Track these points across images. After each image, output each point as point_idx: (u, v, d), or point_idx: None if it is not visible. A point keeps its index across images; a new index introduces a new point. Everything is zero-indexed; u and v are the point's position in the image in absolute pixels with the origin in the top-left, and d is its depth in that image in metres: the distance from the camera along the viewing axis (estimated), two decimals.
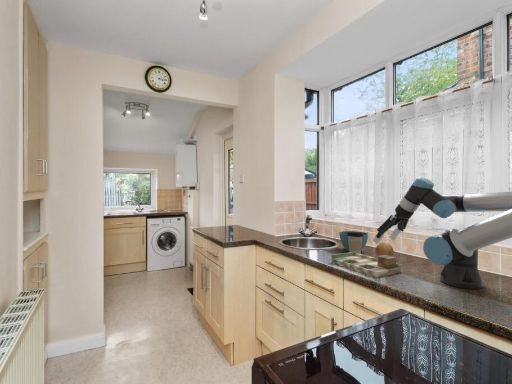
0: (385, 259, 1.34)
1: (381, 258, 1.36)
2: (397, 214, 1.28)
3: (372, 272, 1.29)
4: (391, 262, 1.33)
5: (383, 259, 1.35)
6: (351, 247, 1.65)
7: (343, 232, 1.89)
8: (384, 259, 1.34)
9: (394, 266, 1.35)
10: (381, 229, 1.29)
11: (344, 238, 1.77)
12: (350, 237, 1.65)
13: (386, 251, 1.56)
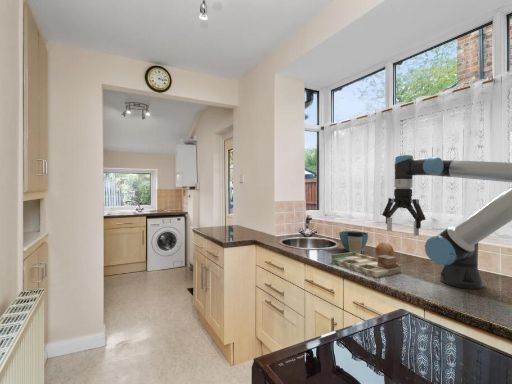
0: (385, 259, 1.34)
1: (381, 258, 1.36)
2: (410, 196, 1.26)
3: (372, 272, 1.29)
4: (391, 262, 1.33)
5: (383, 259, 1.35)
6: (351, 247, 1.65)
7: (343, 232, 1.89)
8: (384, 259, 1.34)
9: (394, 266, 1.35)
10: (423, 216, 1.21)
11: (344, 238, 1.77)
12: (350, 237, 1.65)
13: (386, 251, 1.56)
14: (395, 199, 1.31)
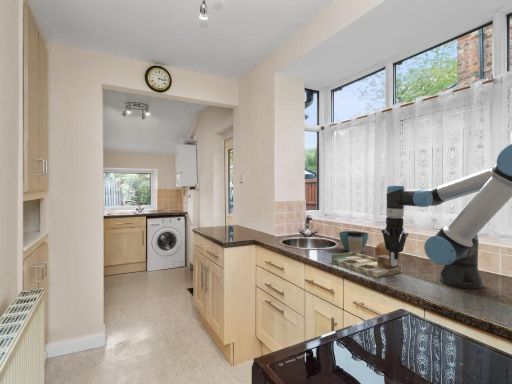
0: (385, 259, 1.34)
1: (381, 258, 1.36)
2: None
3: (372, 272, 1.29)
4: None
5: (383, 259, 1.35)
6: (351, 247, 1.65)
7: (343, 232, 1.89)
8: (384, 259, 1.34)
9: (394, 266, 1.35)
10: (402, 249, 1.30)
11: (344, 238, 1.77)
12: (350, 237, 1.65)
13: (386, 250, 1.56)
14: (386, 227, 1.35)
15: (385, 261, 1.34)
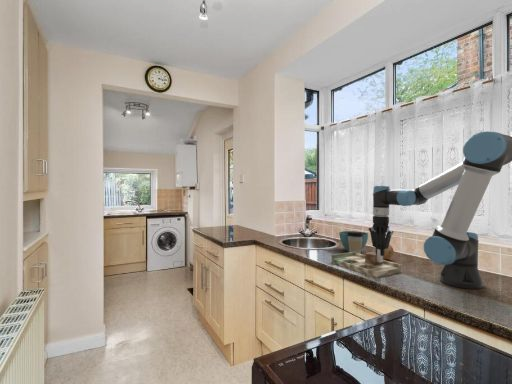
0: (372, 256, 1.40)
1: (368, 255, 1.42)
2: None
3: (372, 272, 1.29)
4: None
5: (370, 256, 1.41)
6: (351, 247, 1.65)
7: (343, 232, 1.89)
8: (371, 256, 1.41)
9: (381, 262, 1.41)
10: (387, 246, 1.36)
11: (344, 238, 1.77)
12: (350, 237, 1.65)
13: (386, 251, 1.56)
14: (373, 225, 1.42)
15: (372, 258, 1.40)
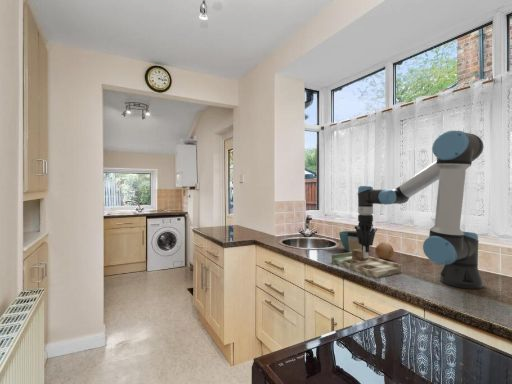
0: (358, 252, 1.48)
1: (355, 251, 1.50)
2: (372, 224, 1.43)
3: (372, 272, 1.29)
4: None
5: (356, 252, 1.49)
6: (351, 247, 1.65)
7: (343, 232, 1.89)
8: (357, 252, 1.48)
9: (366, 259, 1.49)
10: (371, 243, 1.44)
11: (344, 238, 1.77)
12: (350, 237, 1.65)
13: (386, 251, 1.56)
14: (359, 224, 1.50)
15: (358, 254, 1.48)
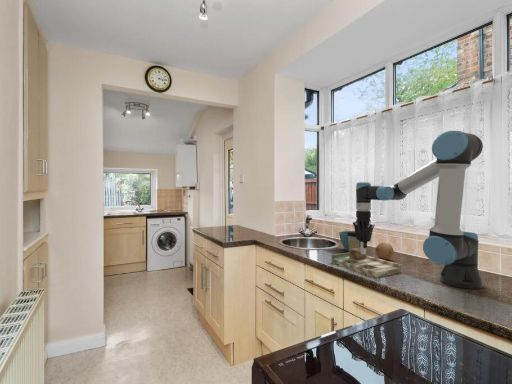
0: (355, 252, 1.49)
1: (352, 251, 1.51)
2: None
3: (372, 272, 1.29)
4: (361, 254, 1.49)
5: (354, 252, 1.50)
6: (351, 247, 1.65)
7: (343, 232, 1.89)
8: (355, 252, 1.50)
9: (364, 258, 1.50)
10: (369, 238, 1.46)
11: (344, 238, 1.77)
12: (350, 237, 1.65)
13: (386, 251, 1.56)
14: (357, 220, 1.51)
15: (355, 253, 1.49)
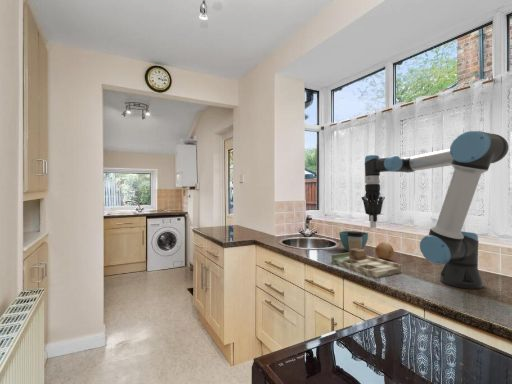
0: (355, 252, 1.49)
1: (352, 251, 1.51)
2: None
3: (372, 272, 1.29)
4: (361, 254, 1.49)
5: (354, 252, 1.50)
6: (351, 247, 1.65)
7: (343, 232, 1.89)
8: (355, 252, 1.50)
9: (364, 258, 1.50)
10: (379, 211, 1.44)
11: (344, 238, 1.77)
12: (350, 237, 1.65)
13: (386, 251, 1.56)
14: (366, 194, 1.50)
15: (355, 253, 1.49)
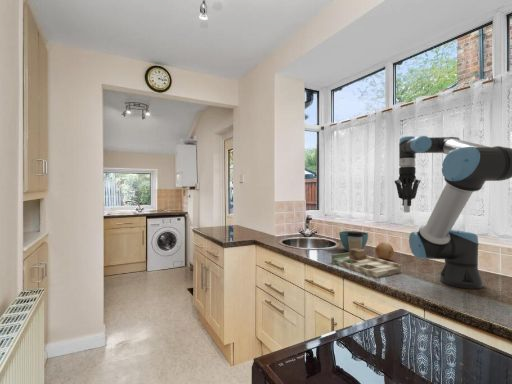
0: (355, 252, 1.49)
1: (352, 251, 1.51)
2: None
3: (372, 272, 1.29)
4: (361, 254, 1.49)
5: (354, 252, 1.50)
6: (351, 247, 1.65)
7: (343, 232, 1.89)
8: (355, 252, 1.50)
9: (364, 258, 1.50)
10: (414, 195, 1.39)
11: (344, 238, 1.77)
12: (350, 237, 1.65)
13: (386, 250, 1.56)
14: (399, 177, 1.44)
15: (355, 253, 1.49)
